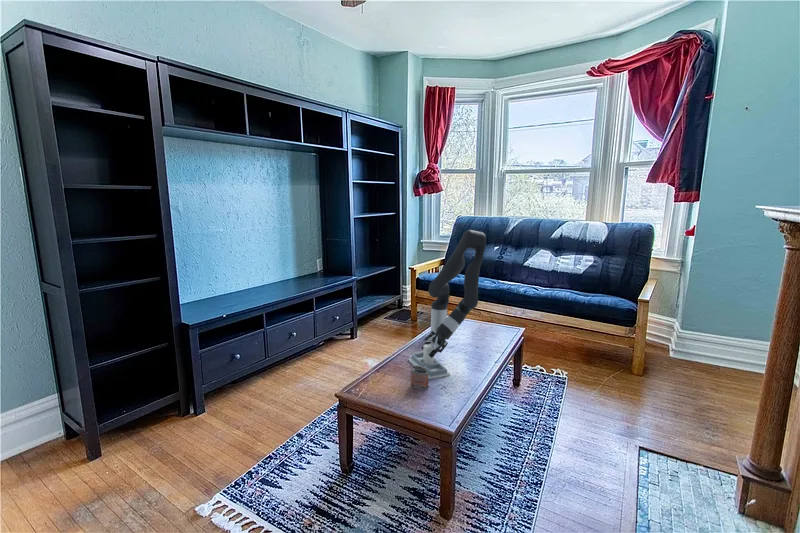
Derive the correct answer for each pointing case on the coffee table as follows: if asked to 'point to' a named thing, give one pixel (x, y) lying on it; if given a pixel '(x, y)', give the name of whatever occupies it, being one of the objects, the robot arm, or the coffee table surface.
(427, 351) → the clay bar
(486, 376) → the coffee table surface
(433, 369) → the rack
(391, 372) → the coffee table surface
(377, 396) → the coffee table surface
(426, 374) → the lighter
